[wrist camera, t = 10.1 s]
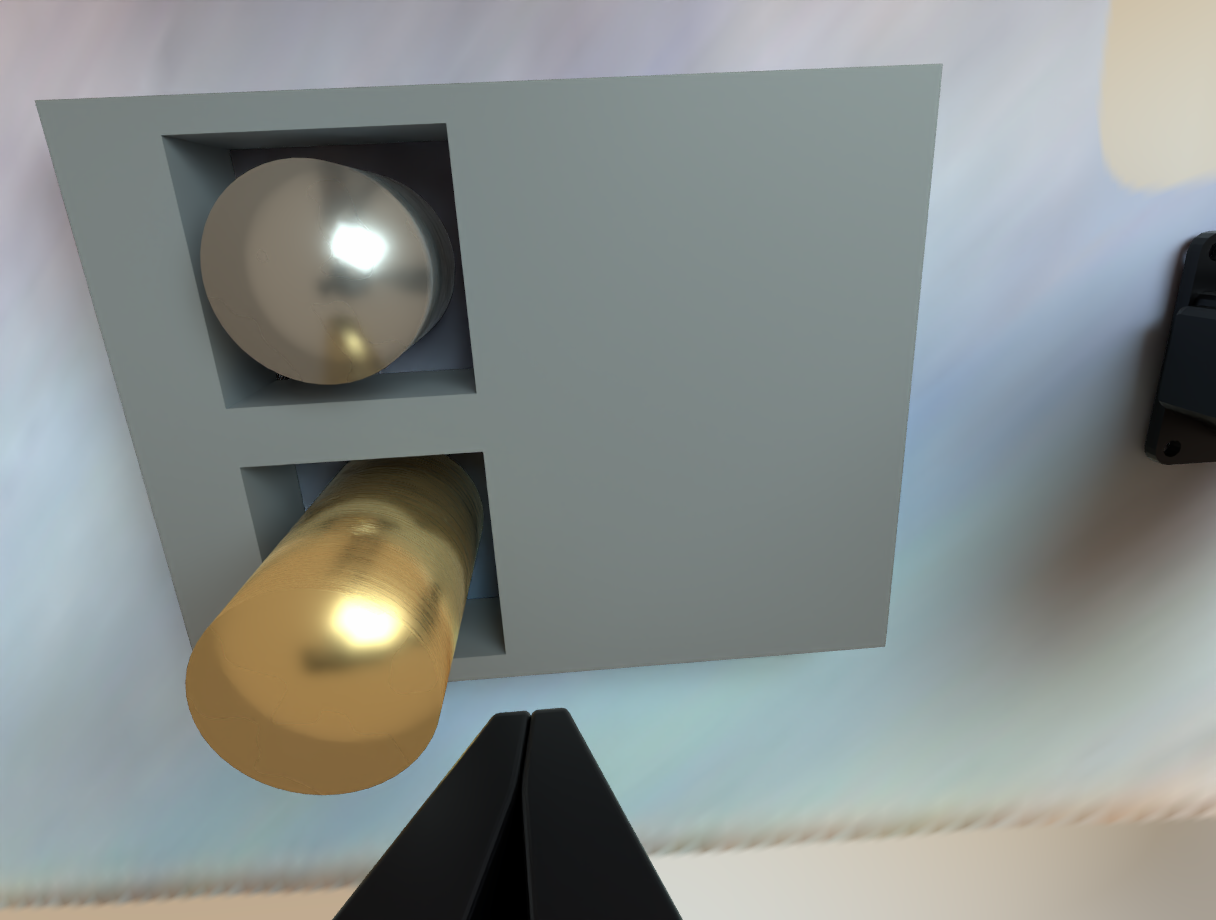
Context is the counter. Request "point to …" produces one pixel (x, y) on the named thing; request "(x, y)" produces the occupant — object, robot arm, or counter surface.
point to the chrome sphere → (325, 268)
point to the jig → (561, 348)
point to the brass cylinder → (344, 631)
